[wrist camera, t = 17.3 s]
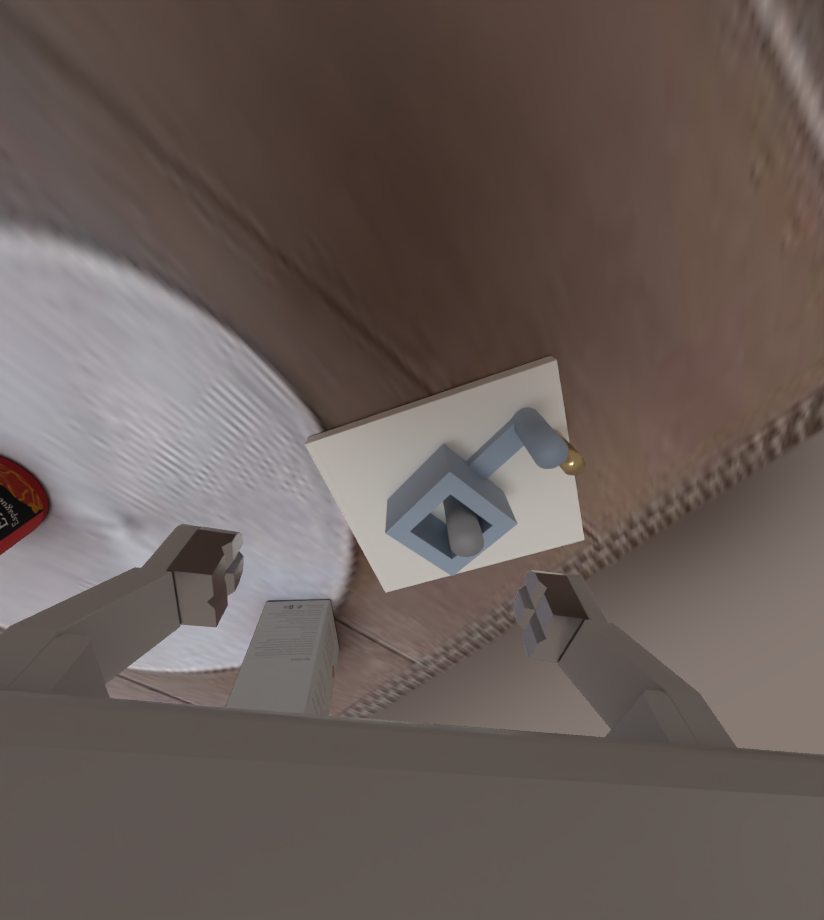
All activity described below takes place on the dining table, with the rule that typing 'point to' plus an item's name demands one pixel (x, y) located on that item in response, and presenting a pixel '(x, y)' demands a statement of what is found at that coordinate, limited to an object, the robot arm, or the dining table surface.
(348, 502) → the post board
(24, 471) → the canned food
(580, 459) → the dowel
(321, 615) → the small box
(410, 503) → the grey socket with handle
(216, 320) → the dining table surface
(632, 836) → the robot arm
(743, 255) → the dining table surface
